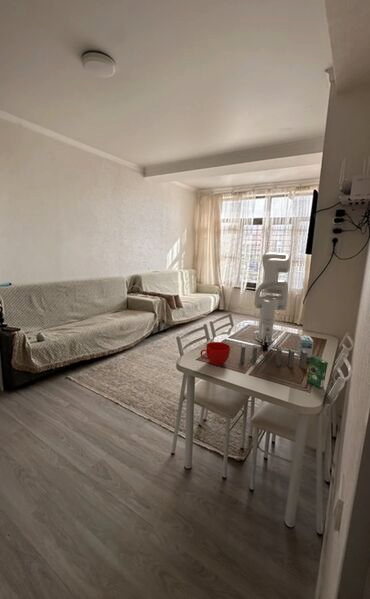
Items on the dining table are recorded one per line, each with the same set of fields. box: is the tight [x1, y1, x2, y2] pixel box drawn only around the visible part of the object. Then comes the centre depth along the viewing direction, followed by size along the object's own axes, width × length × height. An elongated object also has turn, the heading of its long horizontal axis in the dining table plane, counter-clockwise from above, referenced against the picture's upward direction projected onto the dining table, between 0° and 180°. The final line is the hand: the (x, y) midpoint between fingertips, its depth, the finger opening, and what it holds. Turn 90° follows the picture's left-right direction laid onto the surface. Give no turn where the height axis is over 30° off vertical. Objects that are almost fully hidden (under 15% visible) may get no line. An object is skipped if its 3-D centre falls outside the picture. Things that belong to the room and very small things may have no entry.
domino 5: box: [286, 348, 296, 368], centre depth 155 cm, size 2×5×9 cm, turn 171°
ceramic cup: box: [199, 341, 231, 367], centre depth 153 cm, size 13×17×10 cm
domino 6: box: [298, 350, 308, 370], centre depth 154 cm, size 2×5×9 cm, turn 171°
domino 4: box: [274, 346, 283, 367], centre depth 156 cm, size 2×5×9 cm, turn 171°
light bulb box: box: [296, 334, 315, 359], centre depth 172 cm, size 11×7×11 cm, turn 168°
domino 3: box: [261, 339, 267, 357], centre depth 170 cm, size 2×5×9 cm, turn 171°
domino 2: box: [251, 344, 258, 365], centre depth 158 cm, size 2×5×9 cm, turn 171°
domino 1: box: [239, 343, 247, 363], centre depth 159 cm, size 2×5×9 cm, turn 171°
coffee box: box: [306, 355, 329, 389], centre depth 134 cm, size 8×3×13 cm, turn 22°
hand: (264, 349), depth 170 cm, fingers closed on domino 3, 4 cm apart
